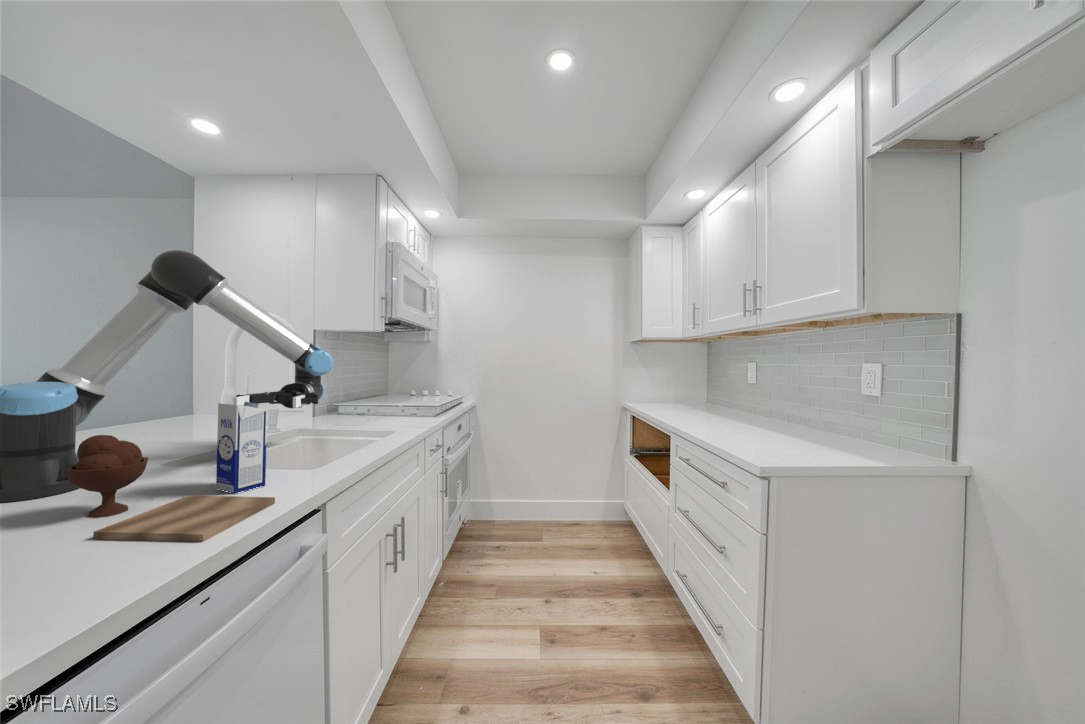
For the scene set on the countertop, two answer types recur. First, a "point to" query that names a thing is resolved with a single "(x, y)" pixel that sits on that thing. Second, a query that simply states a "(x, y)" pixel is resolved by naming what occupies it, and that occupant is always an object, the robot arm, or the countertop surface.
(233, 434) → the milk carton
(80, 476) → the ice cream bowl
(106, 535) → the walnut board
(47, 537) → the countertop surface
